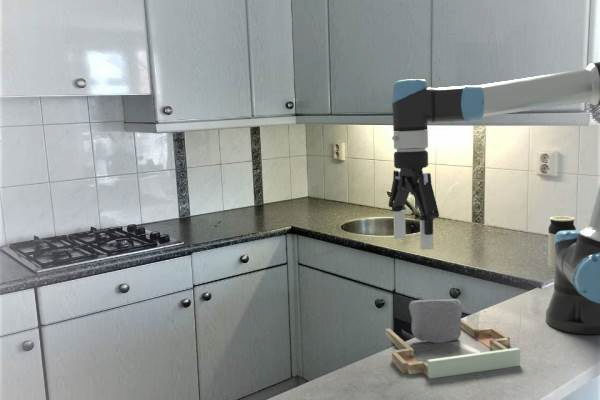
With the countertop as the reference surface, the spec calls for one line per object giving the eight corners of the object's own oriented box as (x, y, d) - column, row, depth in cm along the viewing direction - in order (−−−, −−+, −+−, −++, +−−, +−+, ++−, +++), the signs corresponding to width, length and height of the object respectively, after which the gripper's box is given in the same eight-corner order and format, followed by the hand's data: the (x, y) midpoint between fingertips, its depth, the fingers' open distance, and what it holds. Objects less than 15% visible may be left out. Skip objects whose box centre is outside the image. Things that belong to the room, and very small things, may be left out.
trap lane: (477, 325, 144) (477, 311, 143) (537, 363, 120) (537, 347, 120) (369, 338, 138) (369, 324, 137) (411, 381, 114) (410, 364, 114)
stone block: (458, 336, 137) (457, 294, 136) (464, 343, 133) (464, 301, 131) (408, 338, 137) (407, 297, 136) (412, 346, 132) (412, 303, 131)
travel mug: (572, 276, 184) (574, 220, 181) (545, 274, 188) (546, 219, 186) (576, 270, 190) (577, 216, 188) (550, 268, 195) (551, 215, 192)
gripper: (373, 149, 141) (376, 235, 144) (421, 152, 117) (423, 256, 120) (401, 147, 143) (403, 232, 146) (454, 150, 119) (456, 252, 122)
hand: (412, 243), depth 133 cm, fingers open, 13 cm apart
